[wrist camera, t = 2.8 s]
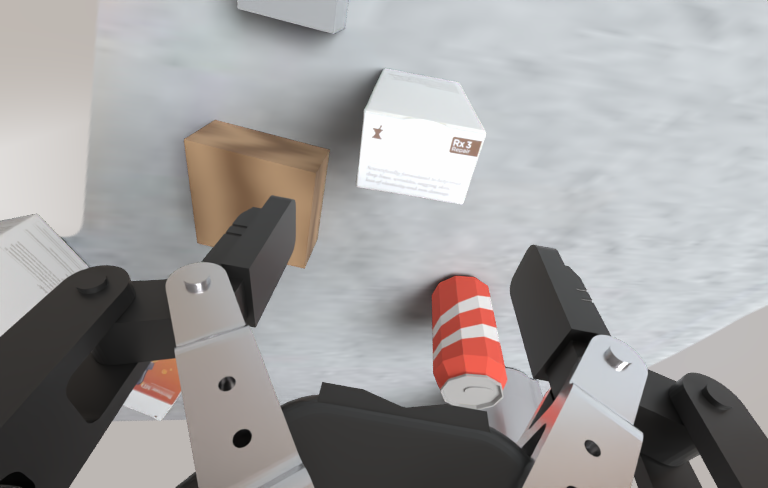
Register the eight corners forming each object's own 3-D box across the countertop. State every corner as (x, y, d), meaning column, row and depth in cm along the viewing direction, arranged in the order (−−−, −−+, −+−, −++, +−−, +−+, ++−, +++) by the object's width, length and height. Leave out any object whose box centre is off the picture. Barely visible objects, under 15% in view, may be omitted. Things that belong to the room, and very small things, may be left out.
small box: (219, 332, 47) (174, 406, 39) (206, 350, 50) (161, 423, 42) (161, 304, 45) (100, 377, 36) (151, 324, 48) (92, 396, 39)
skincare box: (375, 123, 28) (348, 193, 18) (383, 62, 25) (356, 108, 16) (449, 136, 28) (461, 213, 18) (465, 77, 25) (488, 132, 16)
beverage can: (484, 313, 40) (503, 416, 30) (429, 309, 40) (430, 409, 31) (495, 274, 36) (519, 376, 27) (434, 270, 37) (436, 369, 27)
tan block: (330, 148, 30) (315, 173, 26) (317, 237, 36) (304, 268, 32) (216, 119, 30) (183, 139, 26) (223, 214, 36) (197, 243, 32)
